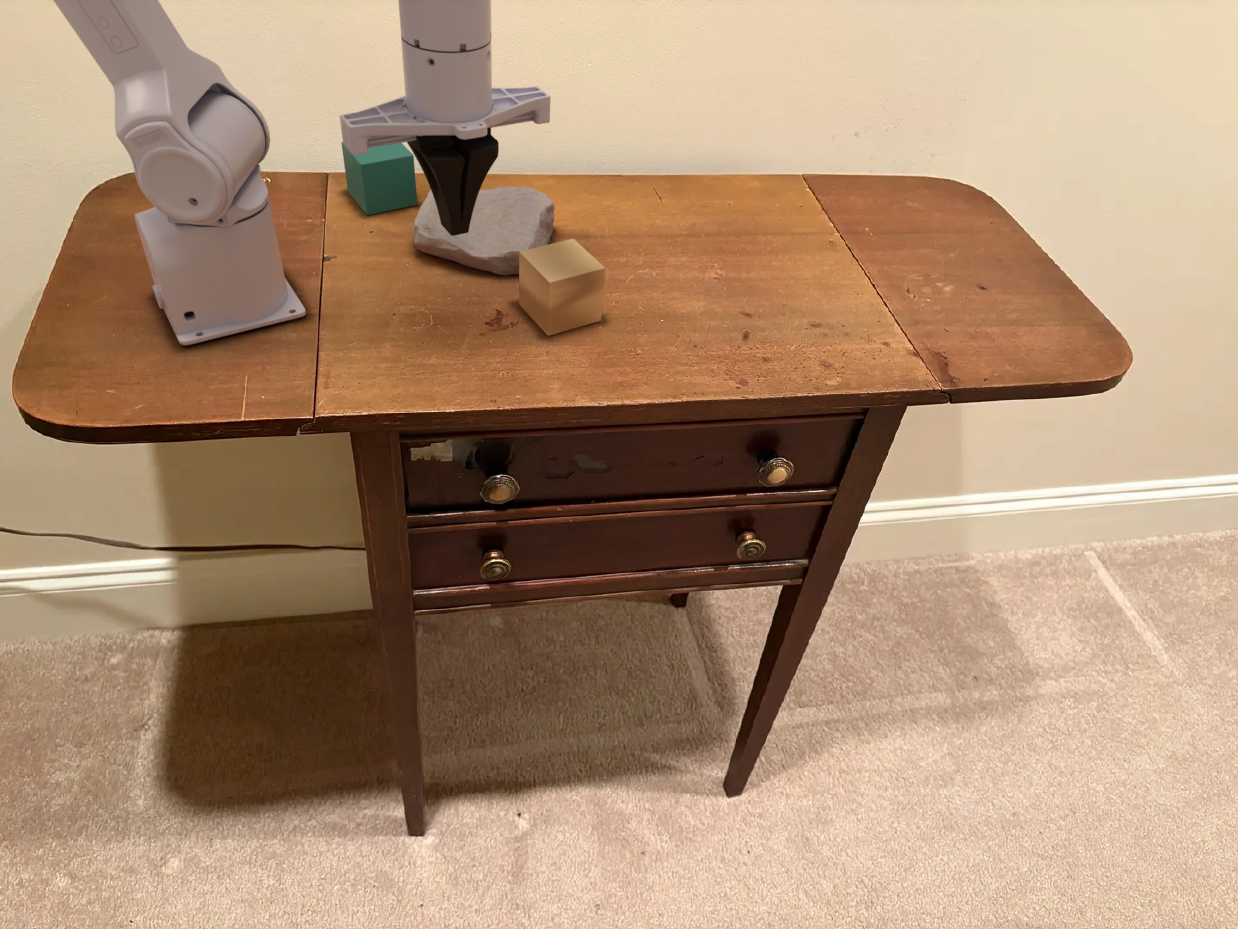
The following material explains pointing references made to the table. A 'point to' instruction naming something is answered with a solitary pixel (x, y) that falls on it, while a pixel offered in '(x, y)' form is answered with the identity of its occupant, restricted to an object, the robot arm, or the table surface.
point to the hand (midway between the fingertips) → (454, 228)
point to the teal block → (381, 178)
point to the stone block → (489, 229)
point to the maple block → (561, 286)
